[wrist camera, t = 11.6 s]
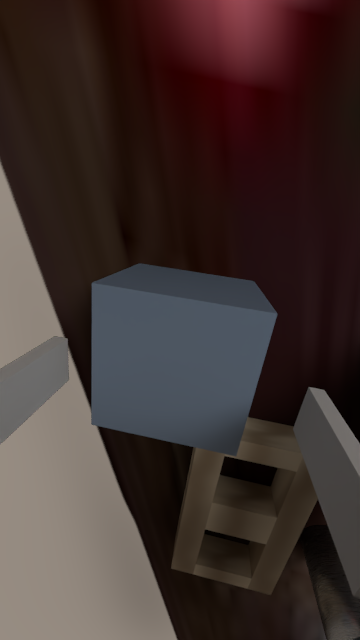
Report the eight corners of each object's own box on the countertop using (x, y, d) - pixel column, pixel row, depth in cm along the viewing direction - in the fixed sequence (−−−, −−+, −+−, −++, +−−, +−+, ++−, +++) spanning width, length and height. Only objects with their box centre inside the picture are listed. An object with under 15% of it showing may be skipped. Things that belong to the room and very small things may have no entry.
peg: (349, 531, 26) (450, 759, 15) (335, 555, 27) (415, 778, 16) (306, 521, 26) (373, 736, 15) (294, 545, 28) (346, 757, 17)
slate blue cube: (253, 281, 19) (277, 313, 11) (230, 380, 22) (236, 456, 14) (139, 263, 20) (92, 282, 12) (132, 361, 23) (91, 424, 15)
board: (321, 432, 22) (336, 461, 19) (265, 560, 29) (270, 594, 27) (201, 407, 23) (199, 431, 20) (175, 537, 30) (171, 568, 28)
